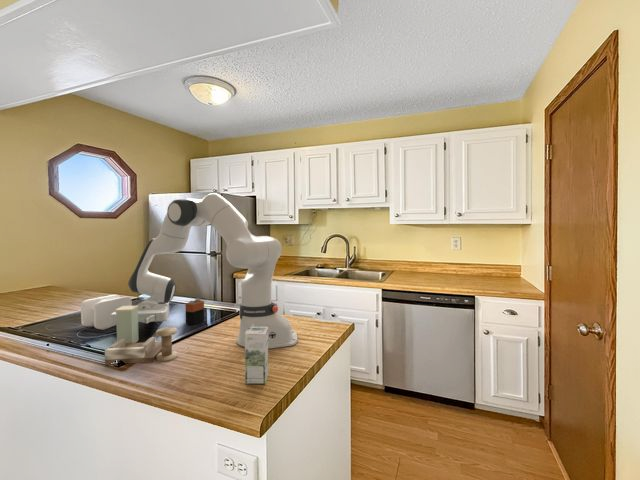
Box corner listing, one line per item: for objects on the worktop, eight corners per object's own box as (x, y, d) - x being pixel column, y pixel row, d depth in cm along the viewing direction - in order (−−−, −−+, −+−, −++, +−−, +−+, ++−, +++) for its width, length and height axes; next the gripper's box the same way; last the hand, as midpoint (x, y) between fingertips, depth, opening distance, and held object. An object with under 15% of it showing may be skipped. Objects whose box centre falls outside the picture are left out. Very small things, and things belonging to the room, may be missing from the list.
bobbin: (179, 352, 103) (179, 326, 103) (173, 360, 97) (173, 333, 97) (160, 353, 102) (160, 327, 102) (153, 361, 97) (152, 334, 96)
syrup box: (268, 374, 89) (268, 325, 89) (265, 385, 84) (265, 333, 83) (248, 374, 89) (248, 325, 88) (244, 385, 83) (244, 333, 82)
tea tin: (139, 340, 114) (138, 305, 113) (132, 345, 109) (131, 309, 108) (123, 340, 113) (122, 305, 113) (116, 346, 108) (115, 309, 108)
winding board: (168, 345, 109) (167, 333, 109) (153, 361, 97) (153, 348, 96) (125, 347, 107) (125, 334, 107) (105, 364, 95) (104, 350, 94)
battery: (204, 320, 137) (204, 298, 136) (192, 325, 131) (192, 302, 130) (197, 319, 139) (197, 297, 138) (185, 323, 132) (184, 301, 132)
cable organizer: (94, 332, 121) (93, 303, 121) (80, 328, 126) (79, 300, 126) (132, 322, 134) (131, 295, 134) (119, 318, 140) (118, 293, 139)
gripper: (120, 304, 126) (100, 314, 112) (172, 302, 129) (160, 312, 115) (120, 319, 126) (101, 331, 112) (173, 317, 129) (160, 329, 115)
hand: (131, 321), depth 114 cm, fingers open, 8 cm apart
